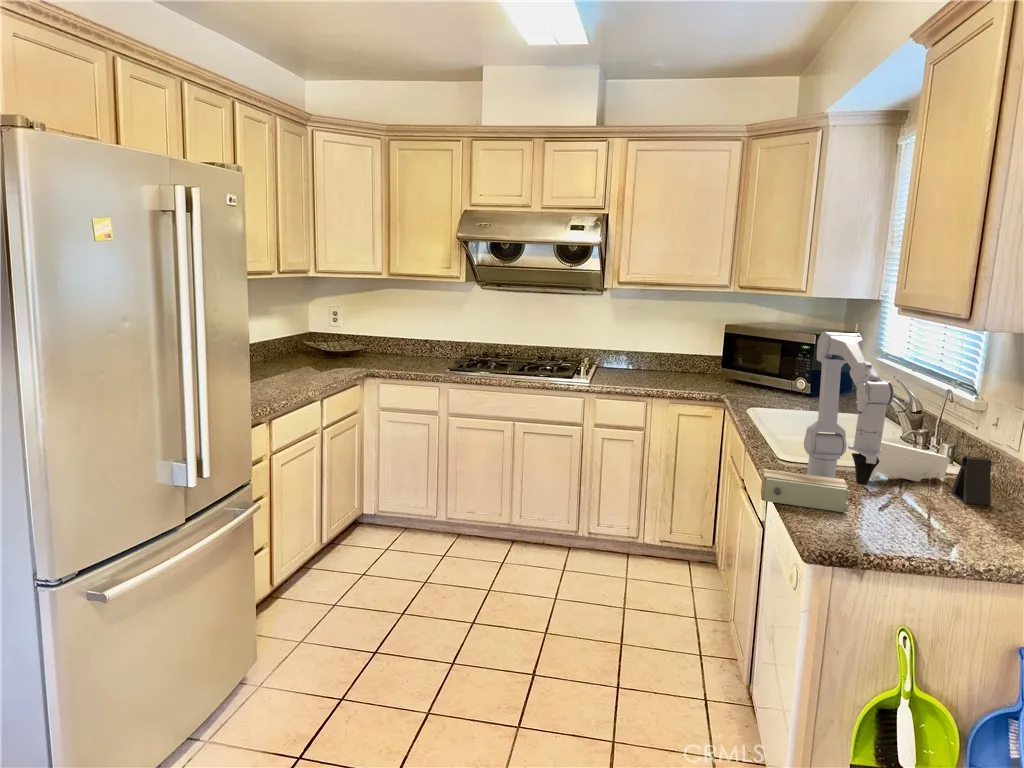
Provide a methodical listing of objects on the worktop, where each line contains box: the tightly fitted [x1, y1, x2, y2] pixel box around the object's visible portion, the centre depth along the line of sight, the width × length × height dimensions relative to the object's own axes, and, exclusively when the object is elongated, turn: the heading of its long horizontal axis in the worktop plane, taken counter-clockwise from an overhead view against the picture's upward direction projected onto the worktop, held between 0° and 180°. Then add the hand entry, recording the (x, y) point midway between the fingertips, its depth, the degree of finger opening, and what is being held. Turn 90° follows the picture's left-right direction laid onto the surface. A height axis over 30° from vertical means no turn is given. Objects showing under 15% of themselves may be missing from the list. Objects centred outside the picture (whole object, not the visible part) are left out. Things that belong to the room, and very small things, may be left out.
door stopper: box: [950, 455, 992, 507], centre depth 183 cm, size 9×6×12 cm, turn 170°
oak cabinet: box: [760, 468, 849, 503], centre depth 176 cm, size 7×20×6 cm, turn 71°
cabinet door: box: [763, 478, 851, 513], centre depth 171 cm, size 2×20×6 cm, turn 71°
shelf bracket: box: [870, 440, 951, 482], centre depth 198 cm, size 6×25×13 cm, turn 99°
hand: (861, 483), depth 163 cm, fingers closed
